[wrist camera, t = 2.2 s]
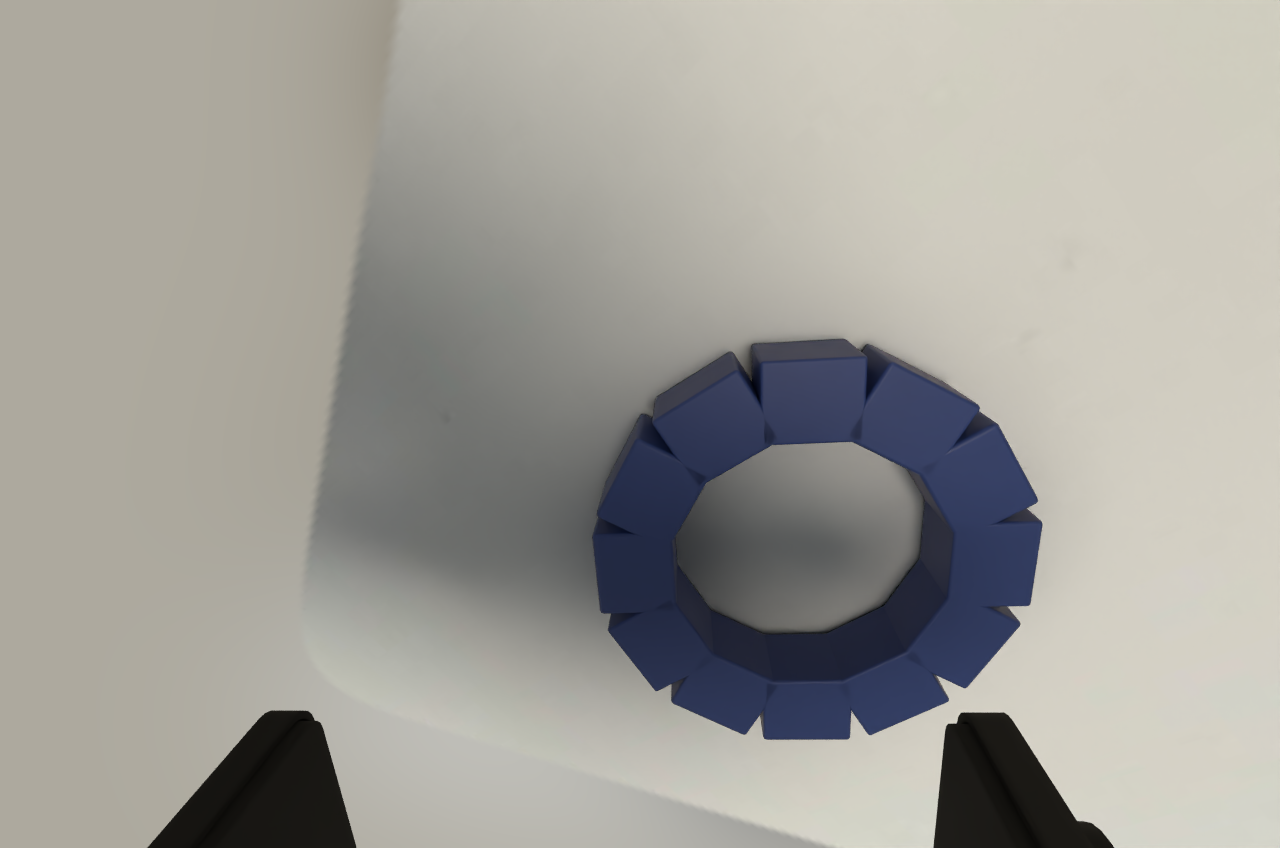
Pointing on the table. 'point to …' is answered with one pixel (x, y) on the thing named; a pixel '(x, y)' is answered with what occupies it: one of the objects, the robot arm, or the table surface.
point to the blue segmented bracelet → (866, 647)
